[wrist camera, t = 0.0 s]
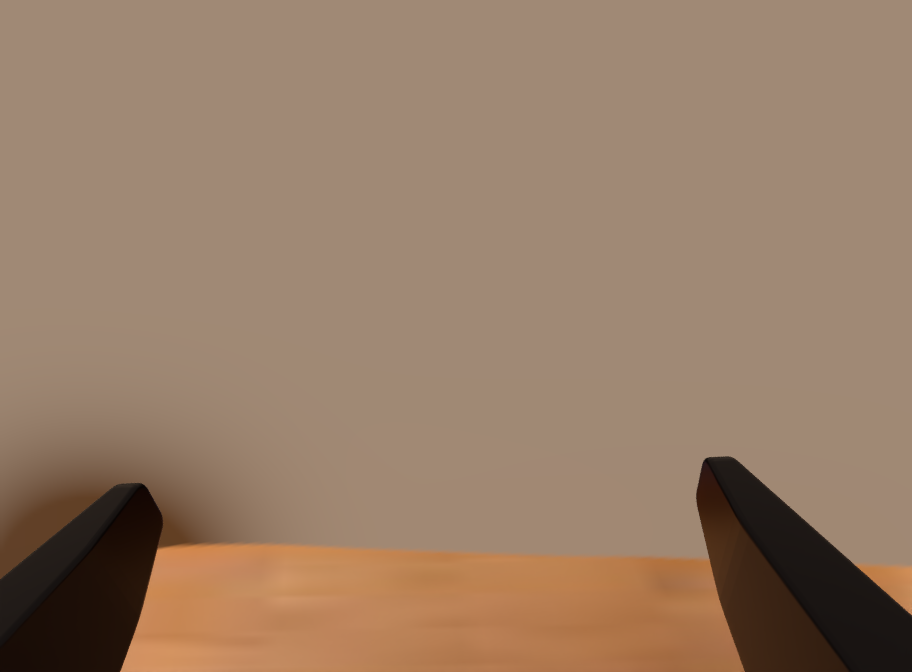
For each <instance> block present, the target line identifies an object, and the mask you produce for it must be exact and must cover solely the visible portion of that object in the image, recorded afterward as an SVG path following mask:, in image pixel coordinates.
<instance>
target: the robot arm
mask: <svg viewBox="0 0 912 672" xmlns="http://www.w3.org/2000/svg"><path fill="white" fill-rule="evenodd" d="M696 499H697V507H698V511H699V516H700V520H701V524H702V529H703V533H704V537H705V541H706V546H707V550H708V554H709V558H710V563H711V567H712V571H713V575H714V580H715V584H716V588H717V592H718V596H719V600H720V603H721V606H722V609H723V612H724V615H725V618H726V620H727V623H728V626H729V629H730V632H731V634H732V637H733V640H734V643H735V645H736V648H737V651H738V654H739V657H740V659H741V662H742V665H743V668H744V671H745V672H912V615H911V614H909V613H908V612H907V611H906V610H905V609H904V608H903V607H902V606H900V605H899V604H898V603H897V602H896V601H895V600H894V599H893V598H891V597H890V596H889V595H888V594H887V593H886V592H885V591H884V590H882V589H881V588H880V587H879V586H878V585H877V584H876V583H875V582H873V581H872V580H871V579H870V578H869V577H868V576H867V575H866V574H864V573H863V572H862V571H861V570H860V569H859V568H858V567H857V566H855V565H854V564H853V563H852V562H851V561H850V560H849V559H847V558H846V557H845V556H844V555H843V554H842V553H841V552H840V551H838V550H837V549H836V548H835V547H834V546H833V545H832V544H830V542H828V541H827V540H826V539H825V538H824V537H823V536H822V535H820V534H819V533H818V532H817V531H816V530H815V529H814V528H813V527H812V526H810V525H809V524H808V523H807V522H806V521H805V520H804V519H802V518H801V517H800V516H799V515H798V514H797V513H796V512H795V511H794V510H792V509H791V508H790V507H789V506H788V505H787V504H785V502H783V501H782V500H781V499H780V498H779V497H778V496H777V495H775V494H774V493H773V492H772V491H771V490H770V489H769V488H767V487H766V486H765V485H764V484H763V483H762V482H761V481H760V480H759V479H757V478H756V477H755V476H754V475H753V474H752V473H751V472H749V471H748V470H747V469H746V468H745V467H744V466H743V465H742V464H740V463H739V462H738V461H737V460H736V459H734V458H732V457H709V458H706V459H705V460H704V462H703V464H702V468H701V473H700V478H699V483H698V488H697V493H696ZM162 528H163V518H162V514H161V512H160V510H159V508H158V506H157V505H156V503H155V501H154V499H153V497H152V496H151V494H150V492H149V490H148V489H147V487H146V486H145V485H143V484H142V483H127V484H118V485H116V486H114V487H113V488H111V489H110V490H109V491H107V492H106V493H105V494H104V495H103V496H101V497H100V498H99V499H98V500H96V501H95V502H94V503H93V504H92V505H90V506H89V507H88V508H87V509H85V510H84V511H83V512H82V513H81V514H79V515H78V516H77V517H76V518H74V519H73V520H72V521H71V522H70V523H68V524H67V525H66V526H65V527H63V528H62V529H61V530H60V531H59V532H57V533H56V534H55V535H54V536H52V537H51V538H50V539H49V540H48V541H46V542H45V543H44V544H43V545H41V546H40V547H39V548H38V549H37V550H36V551H34V552H33V553H32V554H30V555H29V556H28V557H27V558H26V559H24V560H23V561H22V562H21V563H19V564H18V565H17V566H16V567H15V568H13V569H12V570H11V571H10V572H8V573H7V574H6V575H5V576H3V577H2V578H1V579H0V672H120V671H121V668H122V665H123V663H124V660H125V657H126V655H127V652H128V649H129V646H130V644H131V641H132V638H133V635H134V633H135V630H136V627H137V624H138V621H139V618H140V614H141V611H142V607H143V604H144V600H145V596H146V592H147V588H148V584H149V580H150V576H151V572H152V568H153V564H154V560H155V556H156V552H157V548H158V545H159V540H160V537H161V532H162Z"/></svg>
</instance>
